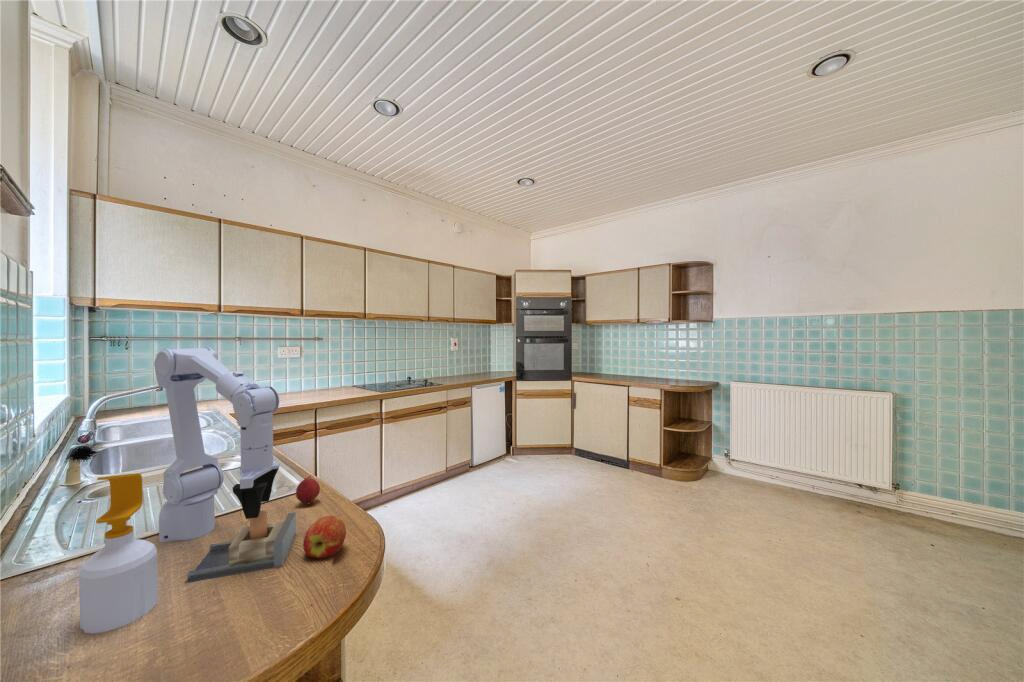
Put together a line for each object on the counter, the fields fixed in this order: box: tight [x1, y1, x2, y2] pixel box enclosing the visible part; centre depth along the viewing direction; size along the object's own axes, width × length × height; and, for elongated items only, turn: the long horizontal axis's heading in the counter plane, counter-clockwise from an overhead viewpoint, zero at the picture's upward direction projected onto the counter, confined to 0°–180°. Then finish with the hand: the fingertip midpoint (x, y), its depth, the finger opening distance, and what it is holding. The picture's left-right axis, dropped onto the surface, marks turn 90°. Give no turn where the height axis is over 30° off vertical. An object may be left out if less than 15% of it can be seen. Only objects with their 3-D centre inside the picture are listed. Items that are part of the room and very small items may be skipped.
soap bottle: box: [78, 472, 159, 635], centre depth 64 cm, size 9×9×25 cm
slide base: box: [184, 512, 297, 584], centre depth 80 cm, size 16×13×6 cm
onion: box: [295, 474, 321, 505], centre depth 106 cm, size 6×6×8 cm
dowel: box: [249, 510, 268, 540], centre depth 81 cm, size 3×3×7 cm
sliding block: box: [229, 521, 284, 565], centre depth 81 cm, size 8×8×4 cm
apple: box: [302, 515, 347, 560], centre depth 82 cm, size 8×8×8 cm
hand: (258, 509), depth 81 cm, fingers open, 7 cm apart
